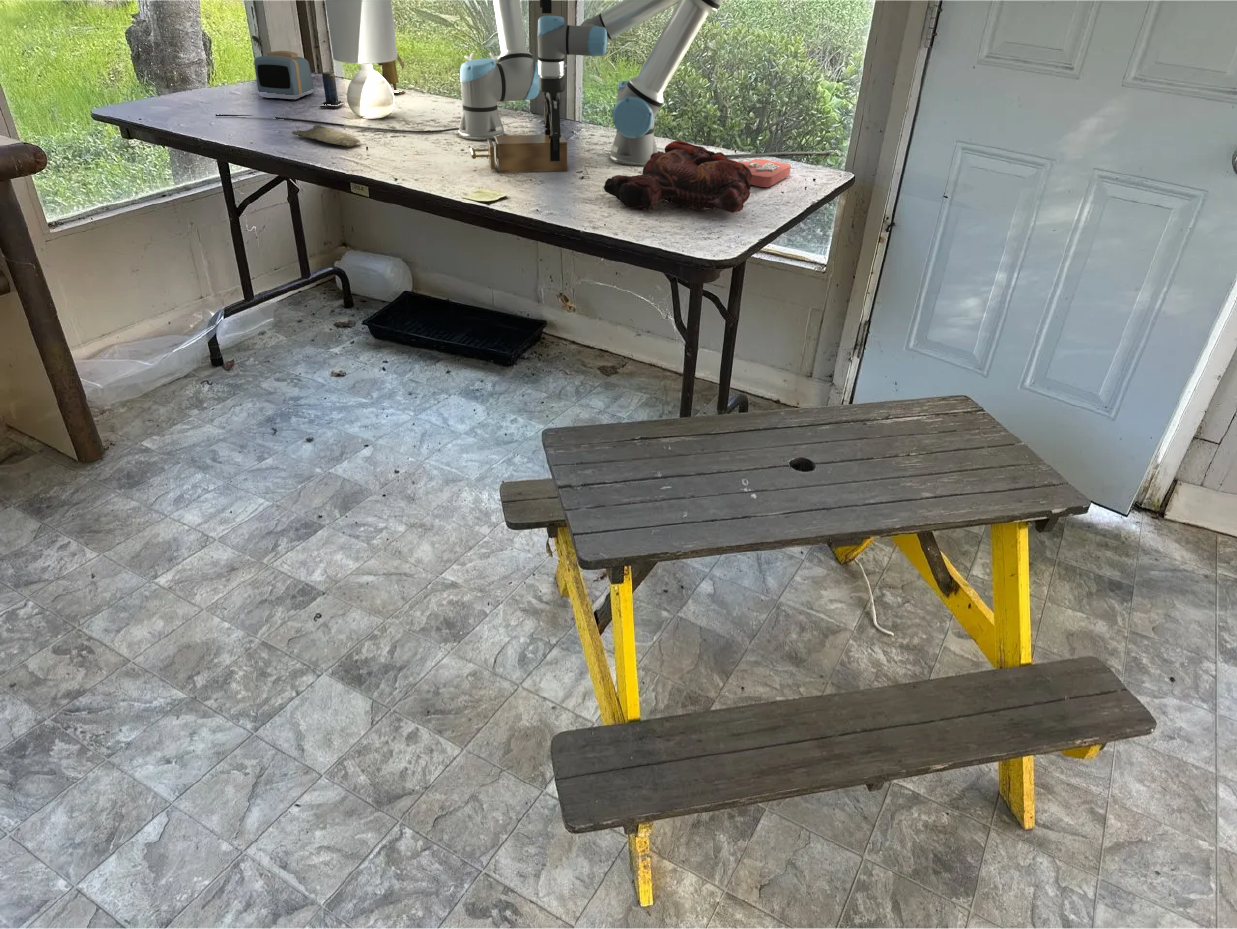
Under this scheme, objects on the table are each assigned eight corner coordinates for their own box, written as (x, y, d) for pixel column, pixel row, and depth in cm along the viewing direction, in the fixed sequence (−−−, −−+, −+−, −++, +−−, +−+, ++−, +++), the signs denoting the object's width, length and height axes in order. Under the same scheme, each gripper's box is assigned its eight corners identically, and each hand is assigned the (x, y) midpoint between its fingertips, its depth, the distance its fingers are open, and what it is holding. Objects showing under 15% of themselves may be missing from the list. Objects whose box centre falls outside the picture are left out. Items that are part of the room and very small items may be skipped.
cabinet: (499, 172, 252) (497, 143, 247) (496, 163, 260) (494, 135, 255) (567, 170, 256) (567, 142, 251) (562, 162, 264) (561, 134, 259)
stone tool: (290, 136, 278) (341, 150, 267) (288, 127, 277) (340, 140, 265) (317, 131, 286) (368, 143, 274) (316, 122, 284) (367, 134, 273)
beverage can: (339, 109, 314) (334, 74, 307) (318, 108, 314) (312, 73, 307) (346, 104, 321) (341, 69, 314) (325, 103, 321) (320, 69, 314)
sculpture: (769, 218, 227) (775, 169, 218) (687, 248, 212) (691, 197, 203) (663, 172, 252) (665, 126, 244) (583, 196, 237) (582, 148, 229)
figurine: (412, 92, 342) (404, 9, 325) (400, 97, 335) (391, 11, 318) (388, 90, 345) (378, 7, 328) (375, 94, 338) (365, 9, 321)
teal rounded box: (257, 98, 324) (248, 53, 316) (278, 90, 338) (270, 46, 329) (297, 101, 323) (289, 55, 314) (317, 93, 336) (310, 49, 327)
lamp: (416, 115, 310) (403, -11, 287) (372, 125, 294) (355, -7, 272) (373, 106, 319) (358, -16, 296) (328, 116, 304) (309, -13, 281)
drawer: (472, 169, 250) (470, 147, 247) (470, 162, 257) (468, 139, 254) (555, 167, 255) (555, 145, 251) (551, 159, 262) (551, 137, 258)
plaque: (748, 154, 263) (793, 162, 256) (746, 167, 265) (791, 175, 258) (722, 166, 250) (769, 175, 244) (721, 179, 252) (767, 189, 246)
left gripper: (560, -73, 227) (561, 15, 239) (555, -77, 248) (555, 5, 260) (532, -74, 227) (534, 15, 239) (529, -78, 247) (531, 4, 259)
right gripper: (570, 83, 236) (570, 165, 249) (558, 69, 254) (559, 146, 267) (544, 84, 235) (545, 166, 248) (533, 69, 253) (535, 146, 266)
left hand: (545, 10), depth 249 cm, fingers open, 13 cm apart
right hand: (552, 155), depth 257 cm, fingers closed on cabinet, 10 cm apart
